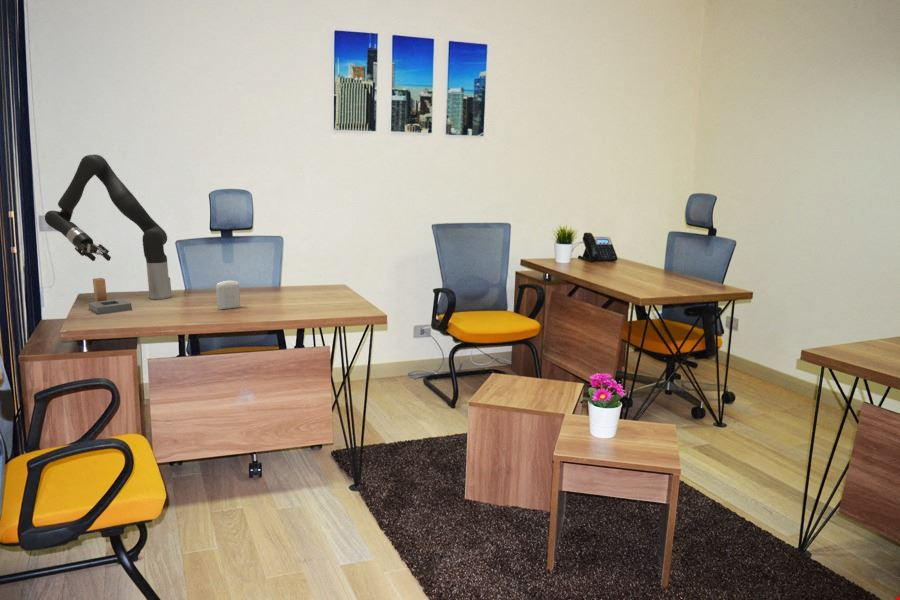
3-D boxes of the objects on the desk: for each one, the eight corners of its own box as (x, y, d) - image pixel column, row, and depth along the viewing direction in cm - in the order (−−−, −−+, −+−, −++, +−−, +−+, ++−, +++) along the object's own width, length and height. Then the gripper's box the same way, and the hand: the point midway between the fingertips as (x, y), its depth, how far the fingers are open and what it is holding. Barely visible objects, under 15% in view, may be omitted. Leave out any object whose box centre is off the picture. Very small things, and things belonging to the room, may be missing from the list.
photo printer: (239, 305, 326) (237, 278, 323) (242, 307, 322) (240, 280, 320) (216, 308, 320) (214, 281, 318) (218, 310, 317) (216, 282, 314)
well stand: (122, 305, 329) (121, 298, 328) (131, 309, 319) (131, 303, 318) (89, 309, 320) (88, 302, 320) (97, 314, 310) (97, 307, 309)
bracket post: (104, 303, 333) (102, 277, 330) (107, 305, 329) (104, 279, 327) (95, 304, 330) (92, 278, 328) (98, 306, 327) (95, 280, 324)
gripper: (69, 231, 325) (92, 252, 321) (95, 232, 338) (117, 252, 334) (63, 245, 327) (86, 266, 323) (89, 245, 340) (111, 265, 336)
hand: (102, 259), depth 328 cm, fingers open, 8 cm apart
